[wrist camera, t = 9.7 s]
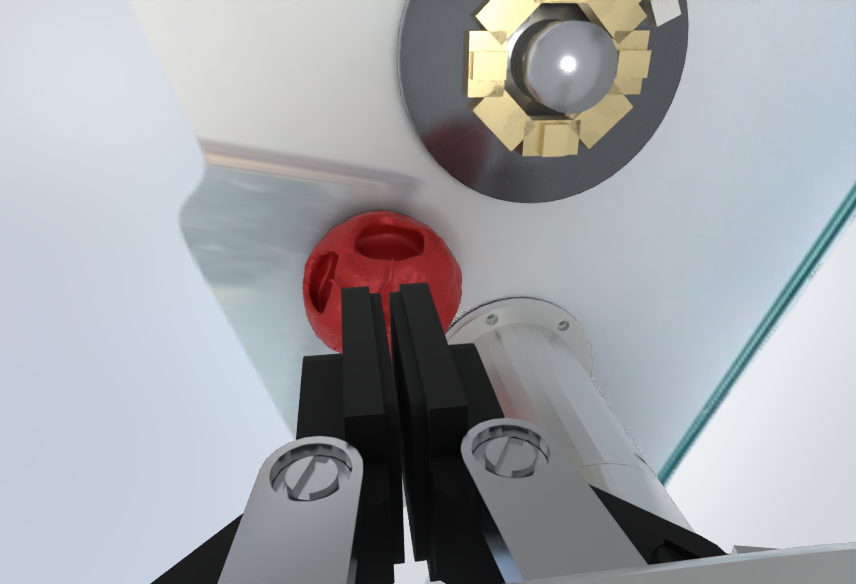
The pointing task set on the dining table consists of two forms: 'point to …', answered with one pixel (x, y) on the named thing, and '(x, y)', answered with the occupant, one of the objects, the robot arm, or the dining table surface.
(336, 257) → the pomegranate
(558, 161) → the dark oval platter
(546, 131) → the gold segmented ring
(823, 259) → the dining table surface
